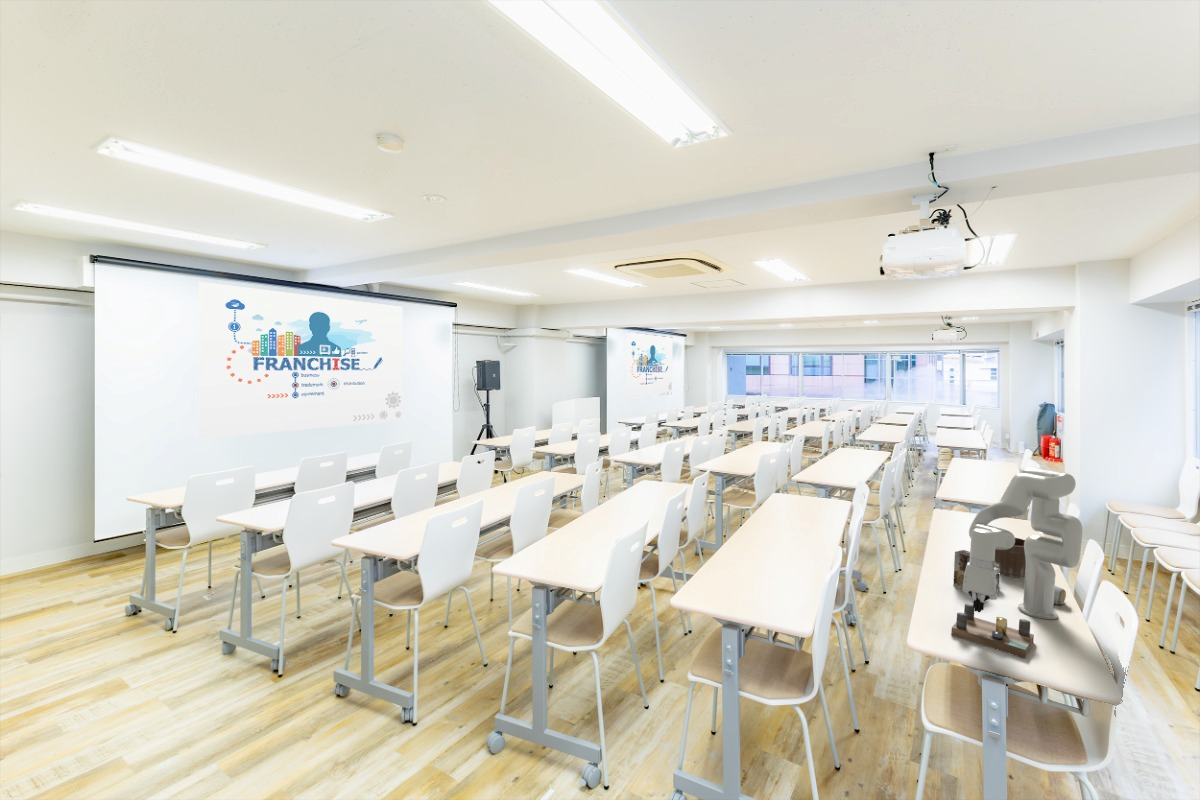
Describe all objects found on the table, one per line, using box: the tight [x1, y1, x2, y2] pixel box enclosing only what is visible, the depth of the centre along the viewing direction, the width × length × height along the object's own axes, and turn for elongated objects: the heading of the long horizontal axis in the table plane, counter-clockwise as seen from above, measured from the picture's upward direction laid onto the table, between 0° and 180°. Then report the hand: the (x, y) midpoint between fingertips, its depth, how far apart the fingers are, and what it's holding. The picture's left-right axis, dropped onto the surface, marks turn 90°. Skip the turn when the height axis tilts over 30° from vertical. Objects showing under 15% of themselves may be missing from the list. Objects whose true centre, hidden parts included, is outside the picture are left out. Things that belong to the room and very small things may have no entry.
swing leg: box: [992, 616, 1008, 640], centre depth 196 cm, size 9×3×5 cm, turn 134°
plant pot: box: [995, 537, 1026, 578], centre depth 264 cm, size 16×16×16 cm
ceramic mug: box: [1053, 585, 1067, 606], centre depth 233 cm, size 11×8×8 cm
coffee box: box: [953, 549, 970, 590], centre depth 245 cm, size 9×6×16 cm
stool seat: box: [950, 603, 1035, 659], centre depth 200 cm, size 16×22×8 cm
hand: (978, 610), depth 203 cm, fingers closed
